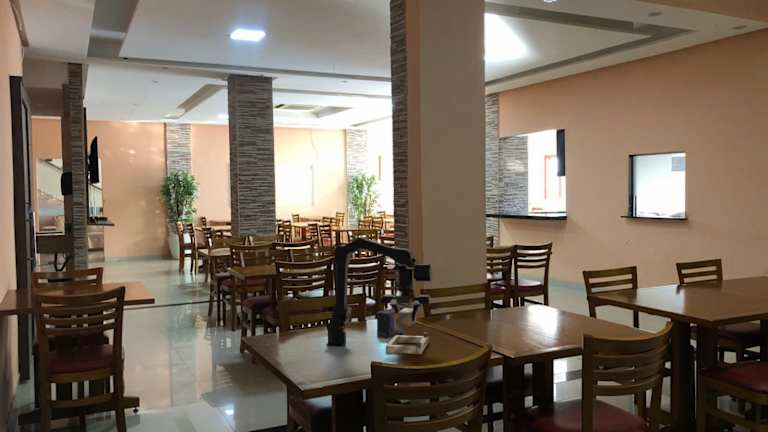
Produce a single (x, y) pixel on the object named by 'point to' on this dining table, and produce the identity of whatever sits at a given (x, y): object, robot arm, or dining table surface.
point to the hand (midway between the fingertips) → (406, 321)
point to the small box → (387, 324)
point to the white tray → (420, 341)
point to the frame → (405, 318)
